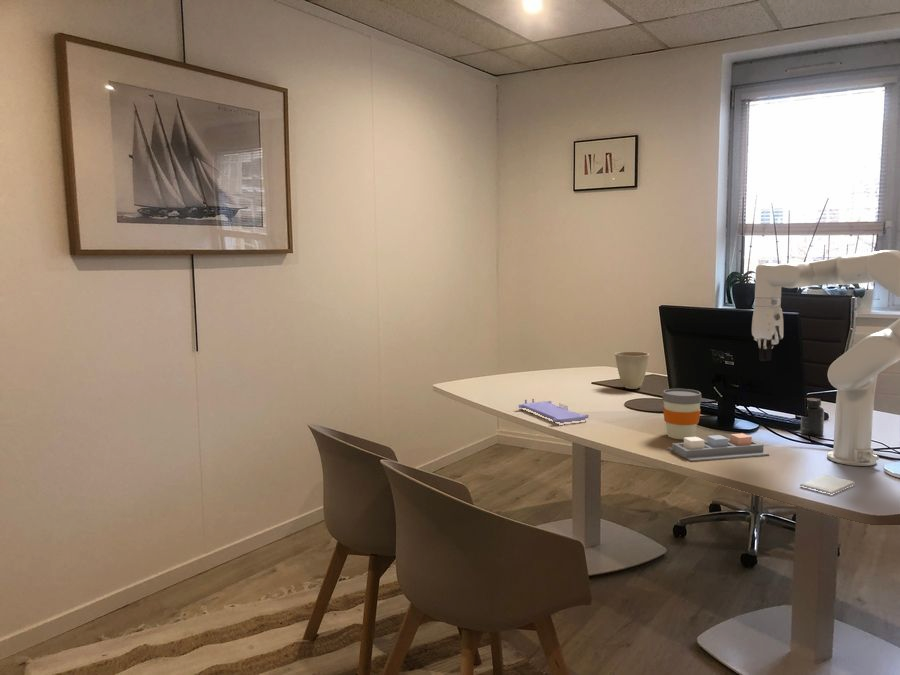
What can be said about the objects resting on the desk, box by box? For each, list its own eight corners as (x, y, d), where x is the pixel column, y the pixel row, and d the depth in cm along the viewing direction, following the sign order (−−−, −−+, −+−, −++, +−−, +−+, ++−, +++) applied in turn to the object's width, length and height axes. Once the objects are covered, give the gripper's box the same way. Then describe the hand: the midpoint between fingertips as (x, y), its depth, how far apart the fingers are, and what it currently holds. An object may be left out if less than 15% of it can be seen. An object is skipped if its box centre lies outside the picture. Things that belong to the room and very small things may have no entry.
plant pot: (647, 385, 320) (648, 351, 318) (649, 392, 306) (650, 356, 304) (614, 384, 324) (615, 350, 322) (614, 390, 309) (615, 355, 307)
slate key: (727, 448, 213) (728, 438, 212) (714, 449, 212) (715, 439, 212) (719, 444, 217) (720, 434, 217) (707, 445, 216) (707, 435, 216)
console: (769, 455, 210) (769, 447, 210) (690, 461, 205) (691, 453, 205) (741, 443, 224) (741, 435, 224) (667, 448, 219) (667, 441, 219)
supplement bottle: (813, 430, 237) (815, 396, 236) (827, 436, 231) (829, 400, 229) (795, 432, 236) (797, 397, 235) (809, 437, 229) (811, 401, 228)
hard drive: (823, 473, 189) (799, 483, 182) (854, 481, 183) (832, 491, 176) (822, 479, 190) (799, 489, 182) (854, 487, 183) (831, 497, 176)
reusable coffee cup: (698, 431, 239) (699, 389, 237) (702, 441, 227) (704, 396, 225) (660, 430, 241) (661, 388, 240) (662, 439, 229) (663, 395, 228)
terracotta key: (751, 446, 214) (751, 436, 214) (738, 447, 213) (738, 437, 213) (742, 442, 219) (743, 433, 218) (730, 443, 218) (730, 434, 217)
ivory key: (704, 449, 211) (704, 440, 211) (691, 450, 210) (691, 441, 210) (696, 445, 216) (696, 436, 215) (683, 446, 215) (683, 437, 214)
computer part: (547, 406, 283) (515, 410, 277) (547, 396, 282) (515, 399, 276) (590, 422, 255) (555, 427, 249) (590, 411, 255) (555, 415, 249)
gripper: (794, 304, 211) (791, 363, 213) (763, 301, 226) (760, 356, 228) (772, 305, 210) (769, 365, 212) (742, 301, 224) (740, 357, 226)
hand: (765, 360), depth 220 cm, fingers closed
